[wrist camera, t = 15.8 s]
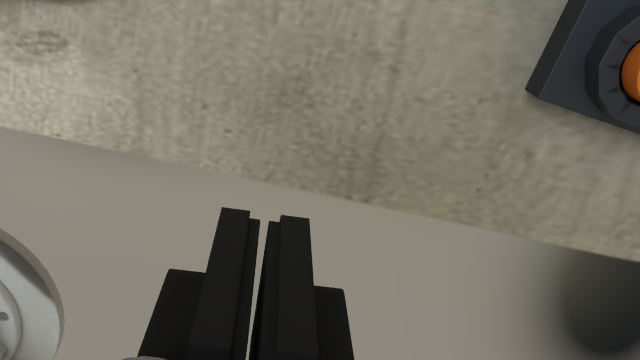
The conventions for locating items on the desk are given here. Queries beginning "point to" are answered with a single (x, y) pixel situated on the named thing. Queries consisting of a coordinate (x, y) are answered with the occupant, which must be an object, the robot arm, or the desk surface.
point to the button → (632, 73)
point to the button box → (591, 61)
